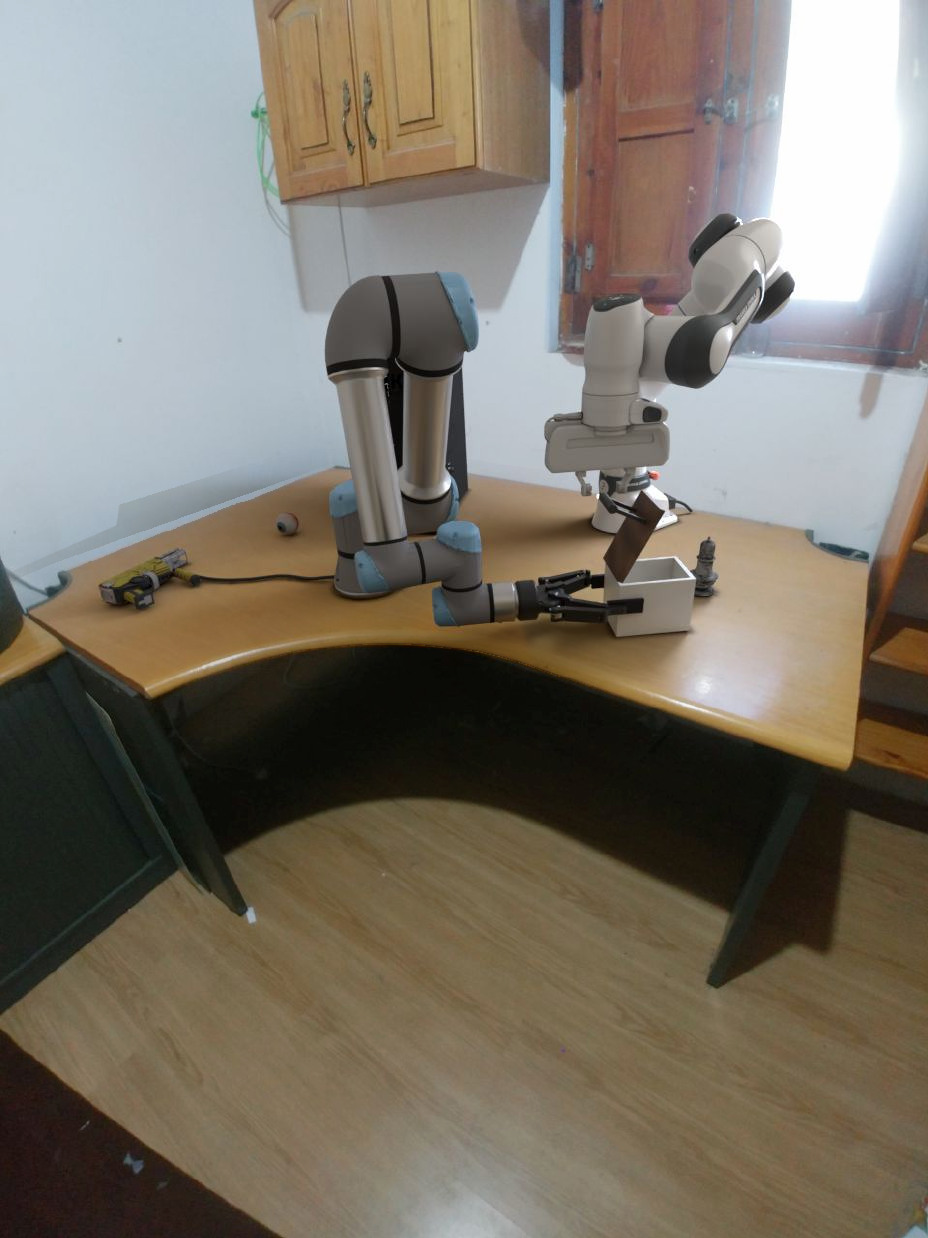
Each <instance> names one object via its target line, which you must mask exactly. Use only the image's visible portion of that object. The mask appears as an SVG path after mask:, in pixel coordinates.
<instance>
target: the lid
mask: <svg viewBox="0 0 928 1238" xmlns="http://www.w3.org/2000/svg"><path fill="white" fill-rule="evenodd" d="M599 500H600V501H601V503H602V504H603V505H604V507H605V508H606V509H607V511H608V512H609V513H610V514H614V513H618V514H620V515H623V516H625V517H626V518H625V520H624V521H623V523H622V525H621V527H620V529H619V530H618V532H617V533H615V535H614V538H613V539H612V541H611V543H610V545H609V546H608V548H607V550H606V552H605V553H604V555H603V557H602V560H603V561H604V563H605V562H606V564H607V566H608V567H609V569H610V571H611V572H612V574H613V576H614V577H615V579H616V580H617V582H620V583H623V582H624V580H625V579H626V577H627V575H628V574H629V572H630V570H631V569H632V567H633V565H634V563H635V562H636V560H637V559H639V558H640V555H641V554H642V552H643V550H644V548H645V547H646V545H647V543H648V542H649V540H650V538H651V537H652V535H653V533H654V532H655V531H656V530H655V528H656V526H657V525H658V523H659V521H660V520H661V518H662V516H663V515H664V513H665V510H664V509H663V508H662V507H661V506H660V505H659V504H658V503H657V502H656V501H655V500H654V499H653V498H652V497H651V496H650V495H649V494H648V493H647V492H646V491H643V490H641V491H640V493H639V495H638V497H637V498H636V500H635V502H634V504H633V505H632V506H629V505H627V504H624V503H622V502H619V501H617V500H614V499H612V498H610V497H609V496H608V495H607V494H606V493H601V494H600V495H599ZM616 505H617V506H619V507H622V508H624V509H627V510H629V512H626V511H624V510H621V509H619V508H617V506H616ZM654 530H655V531H654Z"/></svg>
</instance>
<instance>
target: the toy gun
mask: <svg viewBox="0 0 928 1238" xmlns="http://www.w3.org/2000/svg"><path fill="white" fill-rule="evenodd" d="M183 556H185V560H184V559H181V558H182V557H183ZM188 562H189V560H188V554H187V551H186V549H183V548H181V549H180V548H179V547H175V548H174V549H172V550H169V551H168V552H165V553H163V554H161V555H159V556H155V557H152V558H151V559H148V560H146V561H145V562H142V563H140V564H138V565H136V566H134V567H132V568H130V569H128V570H125V571H123V572H121V573H119V574H117V575H115V576H113V577H111V578H108V579H106V580H104V581H102V582H100V583H99V584H98V589H99V592H100V596H101V599H102V601H103V602H105V604H106V605H110V606H111V605H114V604H115V605H121V604H126V603H132V604H134V605H135V609H136V611H141V610H144V609H145V608H147V607H149V606H153V605H154V604H155V603H156V602H155V599H154V594H153V592H154V591H156V590H158V589H159V588H160V584H164V583H166V582H168V581H171V580H172V579H173V578H176V579H179V580H182V581H183V582H186V583H188V584H191V585H192V586H198V585H199V584H201V582H202V579H201V578H200V576H201V575H200V574H196V573H193V572H190V571H187V570H185V569H183V568H181V566H183V565H185V564H188ZM174 568H175V570H174V571H172V570H173V569H174ZM199 575H200V576H199Z"/></svg>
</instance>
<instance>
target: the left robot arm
mask: <svg viewBox="0 0 928 1238" xmlns="http://www.w3.org/2000/svg"><path fill="white" fill-rule="evenodd" d="M479 326H480V325H479V317H478V309H477V305H476V300H475V296H474V293H473V290H472V287H471V285H470V284H469V281H468V280H467V278H466V277H465V276H464V275H463V274H461V273H460V272H456V271H451V272H450V271H449V272H448V271H447V272H445V271H443V272H440V271H439V270H435V272H423V273H408V274H407V273H406V274H404V273H403V274H391V275H390V274H389V275H379V274H378V275H376V274H375V275H368V276H365V277H362V278H360V279H359V280H357V281H355V282H354V283H353V284H351V285H350V286H349V287H348V288H346V290H345V291H344V292H343V294H341V296H340V297H339V299H338V301H337V302H336V304H335V306H334V308H333V310H332V313H331V315H330V318H329V321H328V324H327V329H326V334H325V340H324V364H325V369H326V376H327V379H328V380H329V381H330V382H331V383H332V384H333V385H335V387H336V388H335V389H336V393H337V400H338V405H339V411H340V416H341V423H342V428H343V434H344V440H345V445H346V451H347V456H348V462H349V463H348V464H349V468H350V473H351V474H350V475H351V478H350V479H348V480H345V481H342V482H341V483H339V484H337V485H336V486H334V488H333V489H331V491H330V493H329V496H328V500H329V516H330V517H331V520H332V527H333V532H334V539H335V547H336V551H337V559H336V566H335V570H334V571H335V572H334V574H332V575H331V574H330V575H320V576H303V575H296V574H288V573H287V574H286V573H283V574H282V573H279V574H278V573H277V574H276V573H275V574H269V575H268V574H267V575H259V576H253V577H236V578H235V577H234V578H230V577H228V578H227V577H226V578H225V577H211V576H205V575H200V574H198V575H199V576H200V578H201V580H203V581H209V582H219V583H237V582H240V583H241V582H254V581H255V582H256V581H261V580H270V579H294V580H299V581H300V580H301V581H314V582H315V581H323V580H333V583H334V589H335V592H336V593H337V594H339V595H340V596H342V597H345V598H347V599H352V600H369V599H370V600H371V599H376V598H377V599H378V598H381V597H384V596H387V595H389V594H392V593H393V592H396V591H397V590H403V589H406V588H411V587H417V586H423V585H428V584H433V583H439V582H440V585H439V586H436V587H433V588H432V589H431V601H432V614H433V622H434V624H435V625H436V626H437V627H440V628H443V627H446V628H449V627H450V628H451V627H457V628H460V627H463V626H473V625H475V626H476V625H484V624H503V623H508V622H509V623H512V622H515V621H516V619H517V620H518V621H519V622H526V621H527V622H528V621H536V620H538V618H539V615H540V614H548V615H550V618H549V619H550V620H549V621H550V622H551V623H560V622H561V623H562V622H566V623H567V622H569V623H582V624H583V623H584V624H599V625H605V624H607V623H608V620H607V619H608V616H612V615H624V614H635V613H643V606H644V599H643V598H634V599H621V600H608V601H607V604H606V603H603V602H599V601H593V600H588V599H581V598H576V597H573V596H572V594H574V593H577V592H579V591H583V590H584V589H587V588H589V587H590V588H591V590H596V589H604V577H605V573H597V574H591V573H592V571H591V570H590V569H578V570H574V571H569V572H565V573H559V574H556V575H551V576H539V577H538V578H537V582H536V581H535V580H534V579H523V580H516V581H515V582H514V583H513V582H512V580H508V581H497V582H485V583H484V582H483V562H482V561H483V556H482V555H483V554H482V552H483V547H482V540H481V539H482V538H481V533H480V529H479V527H478V526H477V525H476V524H475V523H473V522H470V521H467V520H457V518H458V515H459V507H460V502H458V498H459V496H458V489H457V485H456V482H455V480H454V478H453V477H452V476H451V475H450V474H449V472H448V471H447V470H446V469H445V462H446V450H447V439H448V427H449V415H450V404H451V392H452V380H453V375H454V374H455V373H457V372H458V371H459V370H460V369H461V367H462V368H463V364H464V355H465V352H466V353H471V352H472V351H475V350H476V349H477V347H478V345H479V339H480V327H479ZM387 358H395V360H396V363H397V365H398V366H399V367H400V368H401V369H402V370H403V371H404V407H403V466H401V467H400V468H399V469H398V471H397V465H396V459H395V452H394V445H393V439H392V433H391V426H390V420H389V413H388V407H387V400H386V394H385V387H384V378H385V377H387V376H386V375H387V373H388V372H389V371H388V365H387ZM432 531H433V532H434V531H437V534H436V538H430V539H424V540H420V541H412V542H409V538H408V536H411V535H418V534H419V533H426V532H432ZM419 535H420V534H419ZM174 570H175V568H174V569H173V570H172V571H174Z"/></svg>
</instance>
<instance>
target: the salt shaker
mask: <svg viewBox="0 0 928 1238" xmlns="http://www.w3.org/2000/svg"><path fill="white" fill-rule="evenodd" d="M716 548H717V547H716V542H715V541H714V540H712V538H711V536H708V537H707V539H704V540H702V541H701V542H700V544H699V550H698V554H697V555H696V559H697V561H696V565H695V566H696V567H695V568H692V569H690V570H689V571H690V572H691V574H692V575H693V576H694V577H695V578H696V585H695V592H694V596H699V597H708V596H712V595H714V593H715V589H714V588H713V586H714V585H715V583H716V582H717V580H718V579H719V574H718V573H717V571H714V570H713V566H714V561H715V560H716V556H715V553H716Z"/></svg>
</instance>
